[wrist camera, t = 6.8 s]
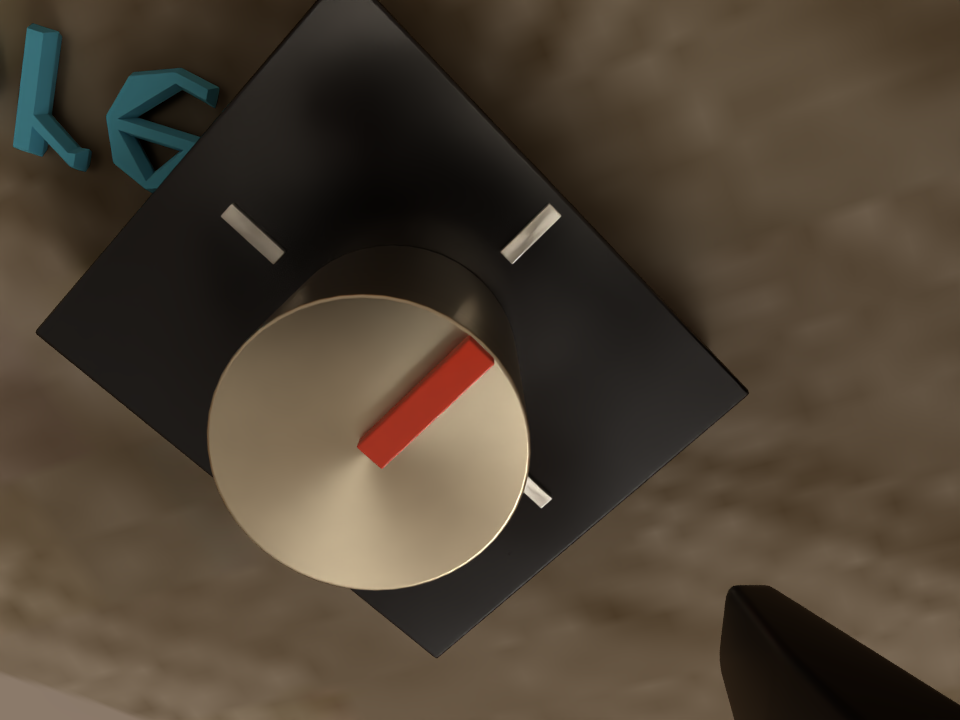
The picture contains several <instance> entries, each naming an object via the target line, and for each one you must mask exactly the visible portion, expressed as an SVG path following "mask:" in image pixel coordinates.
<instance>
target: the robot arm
mask: <svg viewBox="0 0 960 720" xmlns="http://www.w3.org/2000/svg"><path fill="white" fill-rule="evenodd" d="M720 666H721V672H722V676H723V680H724V683H725V687H726V691H727V694H728V698H729V702H730V705H731V709H732V713H733V716H734V720H960V705H959V704H957V703H956V702H954V701H952V700H951V699H949V698H948V697H946V696H944V695H943V694H941V693H940V692H938V691H936V690H935V689H933V688H932V687H930V686H929V685H927V684H925V683H924V682H922V681H921V680H919V679H917V678H916V677H914V676H913V675H911V674H909V673H908V672H906V671H905V670H903V669H901V668H900V667H898V666H897V665H895V664H893V663H892V662H890V661H889V660H887V659H886V658H884V657H882V656H881V655H879V654H878V653H876V652H874V651H873V650H871V649H870V648H868V647H866V646H865V645H863V644H862V643H860V642H858V641H857V640H855V639H854V638H852V637H850V636H849V635H847V634H846V633H844V632H843V631H841V630H839V629H838V628H836V627H835V626H833V625H831V624H830V623H828V622H827V621H825V620H823V619H822V618H820V617H819V616H817V615H815V614H814V613H812V612H811V611H809V610H807V609H806V608H804V607H803V606H801V605H800V604H798V603H796V602H795V601H793V600H792V599H790V598H788V597H787V596H785V595H784V594H782V593H780V592H779V591H777V590H776V589H774V588H772V587H770V586H766V585H736V586H733V587H732V588H730V589H729V591H728V593H727V596H726V601H725V610H724V618H723V627H722V635H721V644H720Z"/></svg>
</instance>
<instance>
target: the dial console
mask: <svg viewBox="0 0 960 720" xmlns="http://www.w3.org/2000/svg"><path fill="white" fill-rule="evenodd" d="M390 245H396V246H410V247H415V248H420V249H425V250H428V251H431V252H434V253H437V254H440V255H443V256H445V257H447V258H449V259H451V260H453V261H455V262H457V263H458V264H460V265H461V266H463V267H464V268H466V269H467V270H469V271H470V272H471V273H473V274H474V275H475V276H476V277H477V278H478V279H480V280H481V281H482V282H483V283H484V284H485V285H486V287H487V288H488V289H489V290H490V291H491V292H492V293H493V295H494V296H495V298H496V299H497V301H498V302H499V304H500V305H501V307H502V308H503V310H504V312H505V314H506V316H507V318H508V320H509V323H510V326H511V329H512V332H513V335H514V339H515V345H516V350H517V356H518V362H519V368H520V374H521V380H522V386H523V392H524V398H525V404H526V410H527V416H528V422H529V428H530V439H531V457H530V467H529V473H528V477H527V482H526V486H525V489H524V492H523V494H522V497H521V499H520V502H519V504H518V507H517V509H516V510H515V512H514V514H513V515H512V517H511V519H510V521H509V522H508V524H507V525H506V526H505V528H504V529H503V530H502V532H501V533H500V534H499V535H498V537H497V538H496V539H495V540H494V541H493V542H492V543H491V544H490V545H489V546H488V547H487V548H486V549H485V550H484V551H483V552H482V553H480V554H479V555H478V556H477V557H475V558H474V559H473V560H471V561H470V562H469V563H467V564H466V565H464V566H462V567H460V568H459V569H457V570H455V571H453V572H452V573H450V574H448V575H445V576H443V577H440V578H438V579H436V580H433V581H430V582H427V583H423V584H420V585H416V586H412V587H406V588H400V589H394V590H358V589H351V590H352V591H353V592H355V593H356V594H357V595H358V596H360V597H361V598H362V599H363V600H365V601H366V602H367V603H368V604H369V605H371V606H372V607H373V608H374V609H376V610H377V611H378V612H379V613H381V614H382V615H383V616H384V617H386V618H387V619H388V620H389V621H390V622H392V623H393V624H394V625H395V626H397V627H398V628H399V629H400V630H402V631H403V632H404V633H405V634H406V635H408V636H409V637H410V638H411V639H413V640H414V641H415V642H416V643H418V644H419V645H420V646H421V647H422V648H424V649H425V650H426V651H427V652H429V653H430V654H431V655H432V656H434V657H435V658H438V657H439V656H440V655H442V654H443V653H444V652H445V651H446V650H448V649H449V648H450V647H451V646H452V645H453V644H455V643H456V642H457V641H458V640H459V639H461V638H462V637H463V636H464V635H465V634H466V633H468V632H469V631H470V630H471V629H472V628H474V627H475V626H476V625H477V624H478V623H479V622H481V621H482V620H483V619H484V618H485V617H487V616H488V615H489V614H490V613H491V612H492V611H494V610H495V609H496V608H497V607H498V606H499V605H501V604H502V603H503V602H504V601H505V600H507V599H508V598H509V597H510V596H511V595H512V594H514V593H515V592H516V591H517V590H518V589H520V588H521V587H522V586H523V585H524V584H525V583H527V582H528V581H529V580H530V579H531V578H533V577H534V576H535V575H536V574H537V573H538V572H540V571H541V570H542V569H543V568H544V567H545V566H547V565H548V564H549V563H550V562H551V561H553V560H554V559H555V558H556V557H557V556H558V555H560V554H561V553H562V552H563V551H564V550H566V549H567V548H568V547H569V546H570V545H571V544H573V543H574V542H575V541H576V540H577V539H579V538H580V537H581V536H582V535H583V534H584V533H586V532H587V531H588V530H589V529H590V528H591V527H593V526H594V525H595V524H596V523H597V522H599V521H600V520H601V519H602V518H603V517H604V516H606V515H607V514H608V513H609V512H610V511H612V510H613V509H614V508H615V507H616V506H617V505H619V504H620V503H621V502H622V501H623V500H625V499H626V498H627V497H628V496H629V495H630V494H632V493H633V492H634V491H635V490H636V489H638V488H639V487H640V486H641V485H642V484H643V483H645V482H646V481H647V480H648V479H649V478H650V477H652V476H653V475H654V474H655V473H656V472H658V471H659V470H660V469H661V468H662V467H663V466H665V465H666V464H667V463H668V462H669V461H671V460H672V459H673V458H674V457H675V456H676V455H678V454H679V453H680V452H681V451H682V450H684V449H685V448H686V447H687V446H688V445H689V444H691V443H692V442H693V441H694V440H695V439H696V438H698V437H699V436H700V435H701V434H702V433H704V432H705V431H706V430H707V429H708V428H709V427H711V426H712V425H713V424H714V423H715V422H717V421H718V420H719V419H720V418H721V417H722V416H724V415H725V414H726V413H727V412H728V411H730V410H731V409H732V408H733V407H734V406H735V405H737V404H738V403H739V402H740V401H741V400H743V399H744V398H745V397H746V396H747V395H748V394H749V392H748V389H747V388H746V387H745V386H744V385H743V384H742V383H741V382H740V381H739V380H738V379H737V378H736V377H735V376H734V375H733V374H732V373H731V372H730V370H729V369H728V368H727V367H726V366H725V365H724V364H723V363H722V362H721V361H720V360H719V359H718V358H717V357H716V356H715V355H714V354H713V353H712V352H711V350H710V349H709V348H708V347H707V346H706V345H705V344H704V343H703V342H702V341H701V340H700V339H699V338H698V337H697V336H696V335H695V334H694V333H693V332H692V330H691V329H690V328H689V327H688V326H687V325H686V324H685V323H684V322H683V321H682V320H681V319H680V318H679V317H678V316H677V315H676V314H675V313H674V312H673V310H672V309H671V308H670V307H669V306H668V305H667V304H666V303H665V302H664V301H663V300H662V299H661V298H660V297H659V296H658V295H657V294H656V293H655V292H654V290H653V289H652V288H651V287H650V286H649V285H648V284H647V283H646V282H645V281H644V280H643V279H642V278H641V277H640V276H639V275H638V274H637V273H636V272H635V270H634V269H633V268H632V267H631V266H630V265H629V264H628V263H627V262H626V261H625V260H624V259H623V258H622V257H621V256H620V255H619V254H618V253H617V252H616V250H615V249H614V248H613V247H612V246H611V245H610V244H609V243H608V242H607V241H606V240H605V239H604V238H603V237H602V236H601V235H600V234H599V233H598V232H597V230H596V229H595V228H594V227H593V226H592V225H591V224H590V223H589V222H588V221H587V220H586V219H585V218H584V217H583V216H582V215H581V214H580V213H579V212H578V210H577V209H576V208H575V207H574V206H573V205H572V204H571V203H570V202H569V201H568V200H567V199H566V198H565V197H564V196H563V195H562V194H561V193H560V192H559V190H558V189H557V188H556V187H555V186H554V185H553V184H552V183H551V182H550V181H549V180H548V179H547V178H546V177H545V176H544V175H543V174H542V173H541V172H540V170H539V169H538V168H537V167H536V166H535V165H534V164H533V163H532V162H531V161H530V160H529V159H528V158H527V157H526V156H525V155H524V154H523V153H522V152H521V150H520V149H519V148H518V147H517V146H516V145H515V144H514V143H513V142H512V141H511V140H510V139H509V138H508V137H507V136H506V135H505V134H504V133H503V132H502V130H501V129H500V128H499V127H498V126H497V125H496V124H495V123H494V122H493V121H492V120H491V119H490V118H489V117H488V116H487V115H486V114H485V113H484V112H483V110H482V109H481V108H480V107H479V106H478V105H477V104H476V103H475V102H474V101H473V100H472V99H471V98H470V97H469V96H468V95H467V94H466V93H465V92H464V90H463V89H462V88H461V87H460V86H459V85H458V84H457V83H456V82H455V81H454V80H453V79H452V78H451V77H450V76H449V75H448V74H447V73H446V72H445V70H444V69H443V68H442V67H441V66H440V65H439V64H438V63H437V62H436V61H435V60H434V59H433V58H432V57H431V56H430V55H429V54H428V53H427V52H426V50H425V49H424V48H423V47H422V46H421V45H420V44H419V43H418V42H417V41H416V40H415V39H414V38H413V37H412V36H411V35H410V34H409V33H408V32H407V30H406V29H405V28H404V27H403V26H402V25H401V24H400V23H399V22H398V21H397V20H396V19H395V18H394V17H393V16H392V15H391V14H390V13H389V12H388V10H387V9H386V8H385V7H384V6H383V5H382V4H381V3H380V2H379V1H378V0H317V1H316V2H315V3H314V4H313V5H312V7H311V8H310V9H309V10H308V11H307V12H306V14H305V15H304V16H303V17H302V18H301V19H300V21H299V22H298V23H297V24H296V25H295V27H294V28H293V29H292V30H291V31H290V32H289V34H288V35H287V36H286V37H285V38H284V39H283V41H282V42H281V43H280V44H279V45H278V47H277V48H276V49H275V50H274V51H273V52H272V54H271V55H270V56H269V57H268V58H267V59H266V61H265V62H264V63H263V64H262V65H261V66H260V68H259V69H258V70H257V71H256V72H255V74H254V75H253V76H252V77H251V78H250V79H249V81H248V82H247V83H246V84H245V85H244V86H243V88H242V89H241V90H240V91H239V92H238V94H237V95H236V96H235V97H234V98H233V99H232V101H231V102H230V103H229V104H228V105H227V106H226V108H225V109H224V110H223V111H222V112H221V114H220V115H219V116H218V117H217V118H216V119H215V121H214V122H213V123H212V124H211V125H210V126H209V128H208V129H207V130H206V131H205V132H204V133H203V135H202V136H201V137H200V138H199V139H198V141H197V142H196V143H195V144H194V145H193V146H192V148H191V149H190V150H189V151H188V152H187V153H186V155H185V156H184V157H183V158H182V159H181V161H180V162H179V163H178V164H177V165H176V166H175V168H174V169H173V170H172V171H171V172H170V173H169V175H168V176H167V177H166V178H165V179H164V180H163V182H162V183H161V184H160V185H159V186H158V188H157V189H156V190H155V191H154V192H153V193H152V195H151V196H150V197H149V198H148V199H147V200H146V202H145V203H144V204H143V205H142V206H141V208H140V209H139V210H138V211H137V212H136V213H135V215H134V216H133V217H132V218H131V219H130V220H129V222H128V223H127V224H126V225H125V226H124V228H123V229H122V230H121V231H120V232H119V233H118V235H117V236H116V237H115V238H114V239H113V240H112V242H111V243H110V244H109V245H108V246H107V247H106V249H105V250H104V251H103V252H102V253H101V255H100V256H99V257H98V258H97V259H96V260H95V262H94V263H93V264H92V265H91V266H90V267H89V269H88V270H87V271H86V272H85V273H84V275H83V276H82V277H81V278H80V279H79V280H78V282H77V283H76V284H75V285H74V286H73V287H72V289H71V290H70V291H69V292H68V293H67V295H66V296H65V297H64V298H63V299H62V300H61V302H60V303H59V304H58V305H57V306H56V307H55V309H54V310H53V311H52V312H51V313H50V314H49V316H48V317H47V318H46V319H45V320H44V322H43V323H42V324H41V325H40V326H39V327H38V329H37V330H36V334H37V335H38V336H39V337H41V338H42V339H43V340H44V341H45V342H47V343H48V344H49V345H50V346H52V347H53V348H54V349H55V350H57V351H58V352H59V353H60V354H61V355H63V356H64V357H65V358H66V359H68V360H69V361H70V362H71V363H73V364H74V365H75V366H76V367H77V368H79V369H80V370H81V371H82V372H84V373H85V374H86V375H87V376H89V377H90V378H91V379H92V380H93V381H95V382H96V383H97V384H98V385H100V386H101V387H102V388H103V389H105V390H106V391H107V392H108V393H110V394H111V395H112V396H113V397H114V398H116V399H117V400H118V401H119V402H121V403H122V404H123V405H124V406H126V407H127V408H128V409H129V410H130V411H132V412H133V413H134V414H135V415H137V416H138V417H139V418H140V419H142V420H143V421H144V422H145V423H146V424H148V425H149V426H150V427H151V428H153V429H154V430H155V431H156V432H158V433H159V434H160V435H161V436H162V437H164V438H165V439H166V440H167V441H169V442H170V443H171V444H172V445H174V446H175V447H176V448H177V449H179V450H180V451H181V452H182V453H183V454H185V455H186V456H187V457H188V458H190V459H191V460H192V461H193V462H195V463H196V464H197V465H198V466H199V467H201V468H202V469H203V470H204V471H206V472H207V473H208V474H209V475H211V476H212V477H213V474H212V471H211V466H210V460H209V455H208V446H207V425H208V415H209V409H210V405H211V401H212V397H213V393H214V391H215V388H216V386H217V384H218V381H219V379H220V376H221V374H222V372H223V371H224V369H225V367H226V366H227V364H228V363H229V361H230V359H231V358H232V356H233V355H234V354H235V353H236V351H237V350H238V349H239V348H240V347H241V345H242V344H243V343H244V342H245V341H246V340H247V339H248V338H249V337H250V336H251V335H252V334H253V333H254V332H255V331H256V330H257V329H258V328H259V327H260V326H261V325H262V324H263V323H264V322H265V321H266V320H267V319H268V318H269V317H270V316H271V315H272V314H273V313H274V312H275V311H276V310H277V309H278V308H279V307H280V306H281V305H282V304H283V303H284V302H285V301H286V300H287V299H288V298H289V297H290V296H291V295H292V294H294V293H295V292H296V291H297V290H298V289H299V288H300V287H301V286H302V285H303V284H304V283H305V282H306V281H307V280H308V279H309V278H310V277H311V276H312V275H313V274H315V273H316V272H317V271H318V270H319V269H321V268H322V267H324V266H325V265H327V264H328V263H330V262H331V261H333V260H335V259H337V258H339V257H341V256H343V255H346V254H349V253H352V252H354V251H357V250H360V249H365V248H371V247H376V246H390ZM213 478H214V477H213Z"/></svg>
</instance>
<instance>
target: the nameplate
mask: <svg viewBox="0 0 960 720" xmlns="http://www.w3.org/2000/svg"><path fill="white" fill-rule="evenodd" d="M61 42H62V36H61V34H60V33H59V31H55V30H52V29H49V28H46V27H43V26H40V25H37V24H34V23H32V24H31V25H30V26H29V27H28V28H27V32H26V41H25V49H24V58H23V66H22V75H21V83H20V91H19V100H18V108H17V117H16V125H15V134H14V142H13V147H15V148H16V149H19V150H22V151H25V152H29V153H32V154H35V155H38V156H43V155H44V154H45V152H46V151H47V148H48V144H49V145H50V146H51V147H52V148H53V149H54V150H55V151H56V152H57V153H58V154H59V155H60V156H61V157H62V158H63V159H64V161H65V162H66V163H67V164H68V165H69V166H70V167H72V168H74V169H76V170H80V171H84V172H86V171H87V169H88V168H89V166H90V162H91V155H92V152H91V150H90V149H86V148H81V147H80V146H79V145H78V144H77V142H76V141H75V140H74V139H73V138H72V137H71V136H70V135H69V134H68V132H67V131H66V130H65V129H64V128H63V127H62V126H61V125H60V123H59V122H58V121H57V120H56V119H55V118H54V117H53V116H52V110H53V102H54V95H55V87H56V80H57V72H58V65H59V57H60V49H61ZM181 90H184V91H186V92H187V93H189V94H191V95H193V96H194V97H196V98H198V99H200V100H201V101H203V102H205V103H207V104H208V105H210V106H212V107H214V108H216V104H217V100H218V95H219V87H217V86H215V85H214V84H212V83H210V82H208V81H206V80H204V79H202V78H200V77H198V76H196V75H194V74H192V73H190V72H189V71H187V70H185V69H183V68H174V69H163V70H152V71H141V72H133V73H132V74H131V75H130V76H129V77H128V79H127V81H126V82H125V84H124V86H123V87H122V89H121V91H120V93H119V94H118V96H117V98H116V99H115V101H114V103H113V105H112V106H111V108H110V110H109V111H108V113H107V115H106V120H107V126H108V133H109V139H110V145H111V151H112V158H113V163H114V164H115V165H117V166H118V167H119V168H120V169H121V170H123V171H124V172H125V173H126V174H128V175H129V176H130V177H131V178H132V179H134V180H135V181H136V182H137V183H138V184H140V185H141V186H142V187H143V188H145V189H146V190H148V191H149V192H151V193H153V192H154V191H155V190H156V189H157V188H158V186H159V185H160V184H161V183H162V182H163V180H164V179H165V178H166V177H167V176H168V175H169V173H170V172H171V171H172V170H173V169H174V168H175V166H176V165H177V164H178V163H179V162H180V161H181V159H182V158H183V157H184V156H185V155H186V153H187V152H188V151H189V150H190V149H191V148H192V146H193V145H194V144H195V143H196V142H197V141H198V139H199V138H200V137H198V136H195V135H192V134H189V133H186V132H182V131H179V130H176V129H173V128H170V127H166V126H163V125H160V124H157V123H154V122H150V121H147V120H144V119H141V118H138V117H139V116H140V115H142V114H144V113H145V112H147V111H149V110H150V109H152V108H153V107H155V106H157V105H158V104H160V103H162V102H163V101H165V100H167V99H168V98H170V97H172V96H173V95H175V94H176V93H178V92H180V91H181ZM138 138H140V139H143V140H146V141H149V142H152V143H156V144H159V145H162V146H165V147H169V148H172V149H175V150H178V151H179V152H178V153H177V154H176V155H175V156H173V157H172V158H171V159H170V160H169V161H167V162H166V163H165V164H164V165H162V166H161V167H160V168H159V169H158V170H156V171H155V170H154V168H153V166H152V164H151V162H150V160H149V158H148V156H147V155H146V153H145V151H144V149H143V147H142V145H141V143H140V141H139V140H138Z"/></svg>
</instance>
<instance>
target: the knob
mask: <svg viewBox="0 0 960 720" xmlns="http://www.w3.org/2000/svg"><path fill="white" fill-rule="evenodd" d="M207 446H208V455H209V460H210V466H211V471H212V474H213V477H214V480H215V483H216V486H217V489H218V491H219V493H220V495H221V497H222V499H223V501H224V503H225V505H226V507H227V509H228V510H229V512H230V513H231V515H232V516H233V518H234V519H235V521H236V522H237V524H238V525H239V526H240V527H241V528H242V530H243V531H244V532H245V533H246V534H247V535H248V537H249V538H250V539H251V540H252V541H253V542H255V543H256V544H257V545H258V546H259V547H260V548H261V549H262V550H263V551H264V552H266V553H267V554H269V555H270V556H271V557H273V558H274V559H276V560H277V561H278V562H280V563H281V564H283V565H285V566H287V567H289V568H290V569H292V570H294V571H296V572H298V573H300V574H302V575H305V576H307V577H309V578H312V579H314V580H317V581H320V582H324V583H327V584H331V585H334V586H339V587H344V588H350V589H358V590H394V589H400V588H406V587H412V586H416V585H420V584H423V583H427V582H430V581H433V580H436V579H438V578H440V577H443V576H445V575H448V574H450V573H452V572H453V571H455V570H457V569H459V568H460V567H462V566H464V565H466V564H467V563H469V562H470V561H471V560H473V559H474V558H475V557H477V556H478V555H479V554H480V553H482V552H483V551H484V550H485V549H486V548H487V547H488V546H489V545H490V544H491V543H492V542H493V541H494V540H495V539H496V538H497V537H498V535H499V534H500V533H501V532H502V530H503V529H504V528H505V526H506V525H507V524H508V522H509V521H510V519H511V517H512V515H513V514H514V512H515V510H516V509H517V507H518V504H519V502H520V499H521V497H522V494H523V492H524V489H525V486H526V482H527V477H528V473H529V467H530V457H531V439H530V428H529V422H528V416H527V410H526V404H525V398H524V392H523V386H522V380H521V374H520V368H519V362H518V356H517V350H516V345H515V339H514V335H513V332H512V329H511V326H510V323H509V320H508V318H507V316H506V314H505V312H504V310H503V308H502V307H501V305H500V304H499V302H498V301H497V299H496V298H495V296H494V295H493V293H492V292H491V291H490V290H489V289H488V288H487V287H486V285H485V284H484V283H483V282H482V281H481V280H480V279H478V278H477V277H476V276H475V275H474V274H473V273H471V272H470V271H469V270H467V269H466V268H464V267H463V266H461V265H460V264H458V263H457V262H455V261H453V260H451V259H449V258H447V257H445V256H443V255H440V254H437V253H434V252H431V251H428V250H425V249H420V248H415V247H410V246H396V245H390V246H376V247H371V248H365V249H360V250H357V251H354V252H352V253H349V254H346V255H343V256H341V257H339V258H337V259H335V260H333V261H331V262H330V263H328V264H327V265H325V266H324V267H322V268H321V269H319V270H318V271H317V272H316V273H315V274H313V275H312V276H311V277H310V278H309V279H308V280H307V281H306V282H305V283H304V284H303V285H302V286H301V287H300V288H299V289H298V290H297V291H296V292H295V293H294V294H292V295H291V296H290V297H289V298H288V299H287V300H286V301H285V302H284V303H283V304H282V305H281V306H280V307H279V308H278V309H277V310H276V311H275V312H274V313H273V314H272V315H271V316H270V317H269V318H268V319H267V320H266V321H265V322H264V323H263V324H262V325H261V326H260V327H259V328H258V329H257V330H256V331H255V332H254V333H253V334H252V335H251V336H250V337H249V338H248V339H247V340H246V341H245V342H244V343H243V344H242V345H241V347H240V348H239V349H238V350H237V351H236V353H235V354H234V355H233V356H232V358H231V359H230V361H229V363H228V364H227V366H226V367H225V369H224V371H223V372H222V374H221V376H220V379H219V381H218V384H217V386H216V388H215V391H214V393H213V397H212V401H211V405H210V409H209V415H208V425H207Z"/></svg>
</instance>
